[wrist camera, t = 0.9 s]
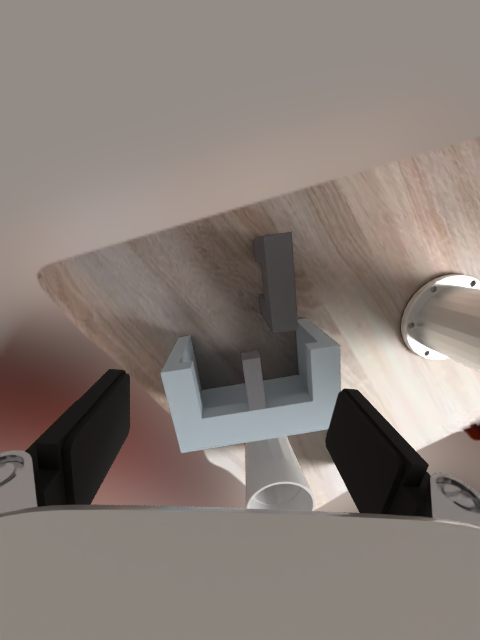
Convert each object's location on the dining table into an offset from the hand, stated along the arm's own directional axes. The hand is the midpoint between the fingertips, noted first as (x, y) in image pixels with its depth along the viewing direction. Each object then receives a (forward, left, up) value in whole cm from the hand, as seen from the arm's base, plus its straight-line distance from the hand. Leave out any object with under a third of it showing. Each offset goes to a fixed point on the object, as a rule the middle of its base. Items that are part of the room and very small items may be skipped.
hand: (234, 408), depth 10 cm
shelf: (-2, +9, -22) cm, 24 cm away
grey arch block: (-6, -3, -22) cm, 23 cm away
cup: (-3, +22, -22) cm, 31 cm away
